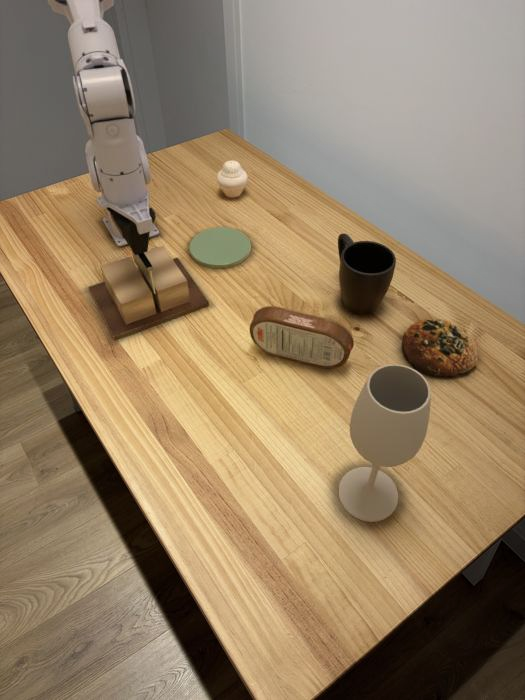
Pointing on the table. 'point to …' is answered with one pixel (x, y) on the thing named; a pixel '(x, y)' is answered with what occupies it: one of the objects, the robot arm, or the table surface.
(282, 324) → the tin
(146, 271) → the knife
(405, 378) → the wineglass
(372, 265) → the mug
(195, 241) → the plate
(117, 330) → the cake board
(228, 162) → the muffin
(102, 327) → the table surface
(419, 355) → the bread roll
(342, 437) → the table surface
